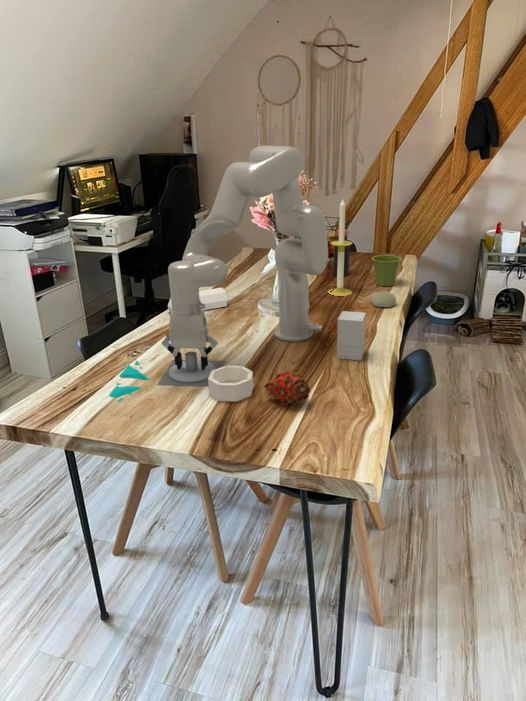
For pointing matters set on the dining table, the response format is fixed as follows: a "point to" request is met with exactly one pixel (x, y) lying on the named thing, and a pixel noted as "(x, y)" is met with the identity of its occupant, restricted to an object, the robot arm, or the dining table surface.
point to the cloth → (121, 391)
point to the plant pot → (385, 269)
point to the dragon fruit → (288, 388)
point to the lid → (191, 370)
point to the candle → (341, 255)
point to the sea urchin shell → (383, 299)
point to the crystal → (210, 299)
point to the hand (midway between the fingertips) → (191, 367)
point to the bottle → (346, 255)
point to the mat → (168, 381)
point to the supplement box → (351, 335)
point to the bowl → (230, 383)
